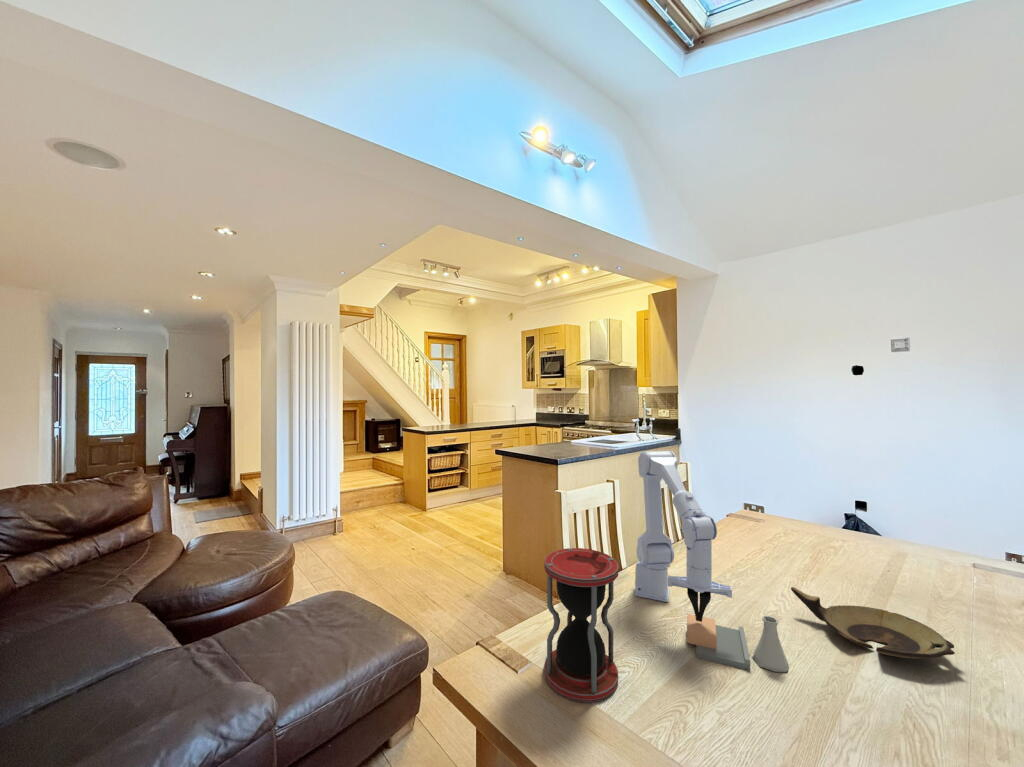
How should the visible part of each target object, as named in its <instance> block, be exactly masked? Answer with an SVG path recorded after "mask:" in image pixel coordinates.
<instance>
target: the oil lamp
mask: <svg viewBox="0 0 1024 767" xmlns="http://www.w3.org/2000/svg"><path fill="white" fill-rule="evenodd" d="M790 590H791V591H792V593H793V594H794V595H795V596H796V597H797V598H798V599H799V600H800V601H801V602H802V604H804V605H805V606H806V608H807V609H809V611H810V612H811V613H812V614H813V615H814V616H815V617H816V618H817V619H819V620H820V621H822V622H825V624H826V625H827V627H829V628H830V629H831V630H833V631H834V632H835V633H837V634H839V635H840V636H841V637H843V638H845V639H846V640H847V641H848V640H849V641H850V642H852V643H854V644H856V645H859V646H861V647H864V648H867V649H874V647H873V646H872V645H871V644H869V643H867V642H870V641H871V642H875V643H879V644H884V645H883V646H880V647H878V646H877V647H876V650H875V651H876V653H878V654H882V655H887V656H890V657H895V658H896V657H897V658H902V659H903V658H904V659H916V660H918V659H935V658H941V657H943V656H952V655H953V656H954V655H955V654H956V652H955V651H954V650H952V649H954V648H955V645H954V644H953V643H952V642H951V641H949V640H947V639H945V638H944V636H942V635H941V634H940V633H938V632H937V630H935V629H933V628H931V627H929V626H928V625H925V624H924V623H922V622H919V621H918V620H915V619H913V618H910V617H908V616H906V615H902V614H900V613H897V612H891V611H888V610H886V609H885V610H884V609H882V608H881V609H880V608H875V607H871V606H870V607H868V606H862V605H851V604H850V605H832V606H829V607H824V606H823V605H822V604H821V597H819V596H813V595H809V594H807V593H804V592H803V591H801V590H799V589H798V588H797V587H793V586H791V588H790Z"/></svg>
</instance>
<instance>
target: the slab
mask: <svg viewBox="0 0 1024 767" xmlns="http://www.w3.org/2000/svg"><path fill="white" fill-rule="evenodd" d="M715 625H716V619H715V618H711V617H710V618H709V617H705V616H703V618H702V622H700V621H696V617H695V614H691V613H687V614H686V643H688V644H691V645H700V646H704V647H708V648H712V649H717V636H716V626H715Z"/></svg>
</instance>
